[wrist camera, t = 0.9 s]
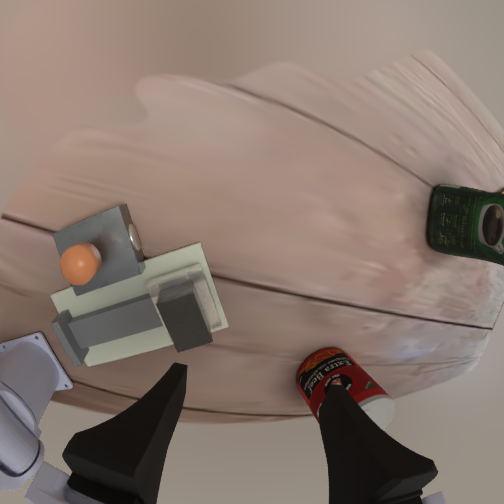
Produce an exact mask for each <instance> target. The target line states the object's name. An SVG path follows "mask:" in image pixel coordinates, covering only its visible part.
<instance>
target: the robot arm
mask: <svg viewBox="0 0 504 504" xmlns="http://www.w3.org/2000/svg"><path fill="white" fill-rule="evenodd" d="M37 337H38V338H37ZM0 352H1V353H0V464H1V465H0V489H3V490H11V491H18V490H19V489H20V488H21V486H22V485H23V484H24V483H25V482H26V481H27V480H28V479H29V478H30V477H32V476H33V475H35V474H36V476H35V477H34V479H33V481H32V483H31V485H30V487H29V489H28V491H27V493H26V495H25V499H26V500H28V501H29V502H30V503H31V504H156V502H157V497H158V491H159V486H160V481H161V476H162V471H163V466H164V462H165V458H166V453H167V449H168V446H169V443H170V440H171V438H172V435H173V432H174V429H175V427H176V424H177V421H178V419H179V416H180V413H181V410H182V406H183V402H184V398H185V394H186V380H187V365H184V364H179V363H173V364H172V366H171V367H170V368H169V370H168V371H167V372H166V373H165V375H164V376H163V377H162V378H161V379H160V380H159V381H158V382H157V383H156V384H155V385H154V386H153V388H152V389H151V390H149V391H148V392H147V393H146V394H145V395H144V396H143V397H142V398H141V399H139V400H138V401H137V402H136V403H134V404H133V405H132V406H130V407H129V408H127V409H126V410H124V411H123V412H121V413H120V414H118V415H117V416H115V417H113V418H111V419H109V420H107V421H105V422H103V423H101V424H99V425H97V426H95V427H92V428H90V429H87V430H84V431H81V432H78V433H75V435H74V436H73V437H72V439H71V440H70V441H69V442H68V444H67V446H66V448H65V450H64V452H63V454H62V457H63V459H64V461H65V462H66V463H67V465H68V466H69V468H70V469H71V470H72V474H71V476H69V475H67V474H66V473H65V472H63V471H61V470H59V469H57V468H55V467H54V466H52V465H50V464H48V463H47V462H44V461H43V460H44V445H43V443H42V442H41V441H40V440H39V437H40V434H41V430H40V429H39V428H38V424H39V422H40V419H41V418H42V415H43V413H44V411H45V409H46V407H47V405H48V403H49V401H50V399H51V397H52V395H53V393H54V392H55V391H58V390H65V389H71V388H72V387H73V383H72V382H71V380H70V379H69V377H68V376H67V374H66V373H65V371H64V369H63V368H62V366H61V365H60V363H59V361H58V360H57V358H56V356H55V355H54V353H53V351H52V350H51V348H50V346H49V344H48V342H47V341H46V339H45V337H44V335H43V334H42V333H41V332H37V333H34V334H30V335H27V336H24V337H20V338H17V339H14V340H10V341H7V342H4V343H0ZM318 410H319V424H320V430H321V435H322V440H323V444H324V449H325V453H326V458H327V464H328V476H329V504H446V501H445V499H444V496H443V494H442V492H441V491H440V492H437V493H435V494H432V495H430V496H427V497H425V498H423V499H421V497H420V495H422V494H423V492H422V488H423V487H424V486H426V485H427V484H428V483H429V482H431V481H432V480H433V479H434V478H435V477H436V476H437V474H438V471H437V469H436V466H435V464H434V462H433V460H431V459H429V458H426V457H424V456H422V455H419V454H417V453H415V452H413V451H412V450H410V449H408V448H406V447H405V446H403V445H401V444H400V443H399V442H397V441H396V440H394V439H393V438H392V437H390V436H389V435H388V434H387V433H386V432H384V431H383V430H382V429H381V428H380V427H379V426H378V425H377V424H376V423H375V422H374V421H373V420H372V419H371V418H370V417H369V416H368V415H367V414H366V413H365V412H364V410H363V409H362V408H361V407H360V406H359V405H358V403H357V402H356V401H355V400H354V398H353V397H352V396H351V395H350V394H349V392H348V391H347V390H346V389H345V387H344V386H343V385H336V384H331V386H330V388H329V390H328V392H327V394H326V396H325V398H324V400H323V402H322V404H321V406H320V408H319V409H318Z"/></svg>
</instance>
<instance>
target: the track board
mask: <svg viewBox="0 0 504 504" xmlns="http://www.w3.org/2000/svg"><path fill="white" fill-rule="evenodd" d="M144 262H145V265H146V268H145V270H144V271H143V273H142V274H140V275H137V276H134V277H131V278H129V279H126V280H123V281H120V282H117V283H114V284H111V285H108V286H105V287H102V288H99V289H97V290H94V291H91V292H88V293H85V294H82V295H79V296H76V295H75V293H74V290H73V288H72V286H71V287H68V288H66V289H63V290H60V291H58V292H55V293H53V294H51V298H52V300H53V302H54V304H55V306H56V309H57V311H58V313H59V315H58V316H57V317H56V318H55V319H54V320H53V321H52V322H51V326H52V328H53V330H54V331H55V333H56V335H57V337H58V339H59V341H60V343H61V344H62V346H63V348H64V350H65V351H66V353H67V355H68V357H69V358H70V360H71V362H72V363H73V365H74V366H78V365H82V363H83V361H85V363H86V364H87V366H88V367H89V366H93V365H98V364H102V363H106V362H110V361H114V360H118V359H122V358H126V357H130V356H133V355H137V354H141V353H145V352H148V351H152V350H155V349H159V348H162V347H166V346H169V345H173V344H174V343H173V344H172V343H171V341H170V339H169V337H168V335H167V333H166V331H165V328H164V326H163V324H162V322H161V320H160V317H159V315H158V313H157V310H156V308H155V306H154V304H153V301H152V299H151V296H150V294H149V292H148V289H147V287H146V284H147V282H149V281H150V279H153V278H156V277H159V276H162V275H165V274H168V273H171V272H174V271H177V270H180V269H183V268H186V267H189V266H192V265H195V264H198V263H201V265H202V268H203V271H204V275H205V279H206V282H207V284H208V287H209V290H210V293H211V296H212V298H213V301H214V304H215V307H216V308H217V310H218V313H219V316H220V320H221V323H222V326H223V328H221V329H224V328H227V327H229V325H228V322H227V320H226V317H225V314H224V311H223V308H222V306H221V303H220V300H219V297H218V294H217V291H216V289H215V286H214V283H213V280H212V277H211V274H210V271H209V268H208V265H207V262H206V259H205V256H204V253H203V250H202V247H201V244H200V242H197V243H194V244H191V245H188V246H185V247H182V248H179V249H176V250H173V251H170V252H167V253H164V254H161V255H158V256H156V257H153V258H150V259H147V260H145V261H144ZM221 329H218V330H221ZM218 330H215V331H218ZM215 331H212V332H215Z"/></svg>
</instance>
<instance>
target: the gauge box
mask: <svg viewBox="0 0 504 504" xmlns="http://www.w3.org/2000/svg"><path fill="white" fill-rule="evenodd" d="M53 237H54V240H55V243H56V246H57V249H58V252H59V255H60V257H62V255H63V253H64V252H65V251H66V250H67V249H69V248H71V247H72V246H74V245H76V244H78V243H81V242H88V243H91V244H92V245H94V246H95V247H96V248H97V249H98V251H99V253H100V256H101V267H100V270H99V271H98V273H97V274H96V275H95V276H94V277H93V278H92V279H90V280H89V281H88V282H87V283H86V284H84V285H74V284H72V283H71V286H72V288H73V290H74V293H75V295H76V296H79V295H82V294H85V293H88V292H91V291H94V290H97V289H99V288H102V287H105V286H108V285H111V284H114V283H117V282H120V281H123V280H126V279H129V278H131V277H134V276H137V275H140V274H142V273H143V271H144V270H145V268H146V265H145V262H144V261H145V258H144V255H143V252H142V250H141V245H140V240H139V236H138V233H137V231H136V228H135V227H134V225H133V223H132V220H131V217H130V214H129V211H128V207H127V204H126V205H121V206H117V207H115V208H112V209H110V210H107V211H105V212H102V213H100V214H97V215H95V216H92V217H90V218H88V219H85V220H83V221H80V222H78V223H76V224H74V225H71V226H69V227H67V228H65V229H62V230H60V231H58V232H56V233H54V234H53Z"/></svg>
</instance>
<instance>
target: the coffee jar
mask: <svg viewBox="0 0 504 504" xmlns="http://www.w3.org/2000/svg"><path fill="white" fill-rule="evenodd" d="M428 238H429V242H430V244H431V246H432V248H433V249H434V250H435V251H438V252H441V253H445V254H449V255H454V256H460V257H467V258H474V259H480V260H485V261H489V262H493V263H497V264H500V265H503V266H504V194H503V193H494V192H488V191H483V190H478V189H473V188H468V187H463V186H457V185H449V184H442V185H439V186H438V187H437V188H436V189H435V191H434V193H433V196H432V202H431V208H430V217H429V229H428Z"/></svg>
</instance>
